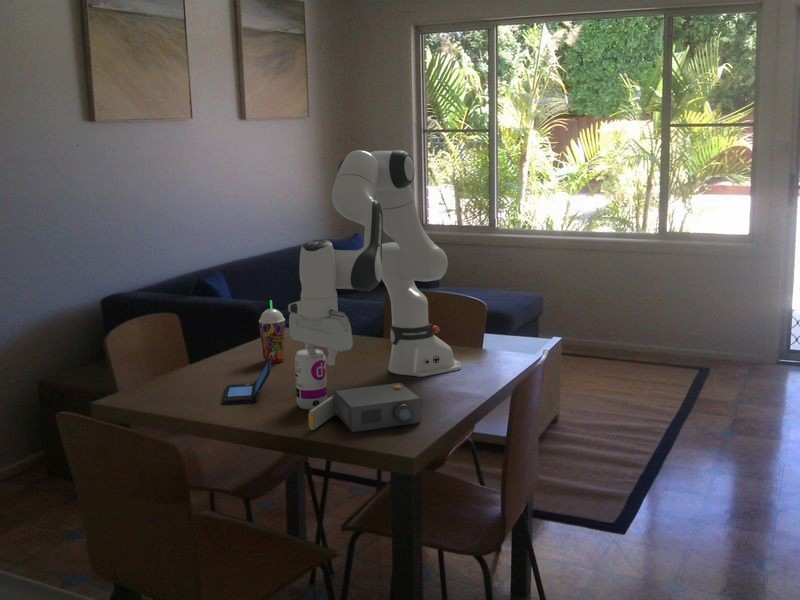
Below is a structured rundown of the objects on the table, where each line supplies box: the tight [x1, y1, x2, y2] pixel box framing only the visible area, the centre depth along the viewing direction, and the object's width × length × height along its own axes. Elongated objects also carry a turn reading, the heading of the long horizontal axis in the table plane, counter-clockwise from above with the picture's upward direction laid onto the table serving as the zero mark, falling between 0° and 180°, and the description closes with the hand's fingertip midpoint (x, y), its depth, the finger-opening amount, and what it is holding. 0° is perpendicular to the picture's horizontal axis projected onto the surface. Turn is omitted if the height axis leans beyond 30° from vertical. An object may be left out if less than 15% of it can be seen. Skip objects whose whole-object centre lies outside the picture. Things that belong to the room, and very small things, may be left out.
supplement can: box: [294, 348, 328, 411], centre depth 241 cm, size 8×8×15 cm
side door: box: [307, 395, 336, 431], centre depth 228 cm, size 1×14×5 cm, turn 159°
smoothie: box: [258, 299, 286, 364], centre depth 288 cm, size 8×8×20 cm
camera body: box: [334, 382, 422, 433], centre depth 229 cm, size 18×17×7 cm
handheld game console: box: [222, 358, 272, 405], centre depth 253 cm, size 16×13×9 cm
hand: (321, 362), depth 220 cm, fingers open, 5 cm apart
